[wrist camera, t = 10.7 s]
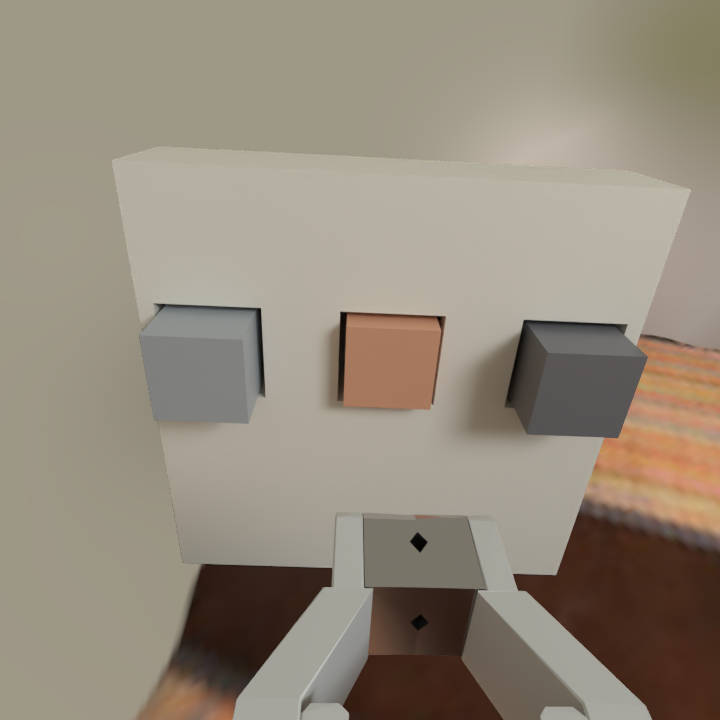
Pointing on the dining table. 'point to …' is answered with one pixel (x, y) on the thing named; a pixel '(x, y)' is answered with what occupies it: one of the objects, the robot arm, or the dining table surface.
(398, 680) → the dining table surface
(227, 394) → the slate grey button
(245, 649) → the dining table surface
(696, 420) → the dining table surface
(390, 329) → the terracotta button
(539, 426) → the charcoal button
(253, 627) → the dining table surface
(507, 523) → the control panel
